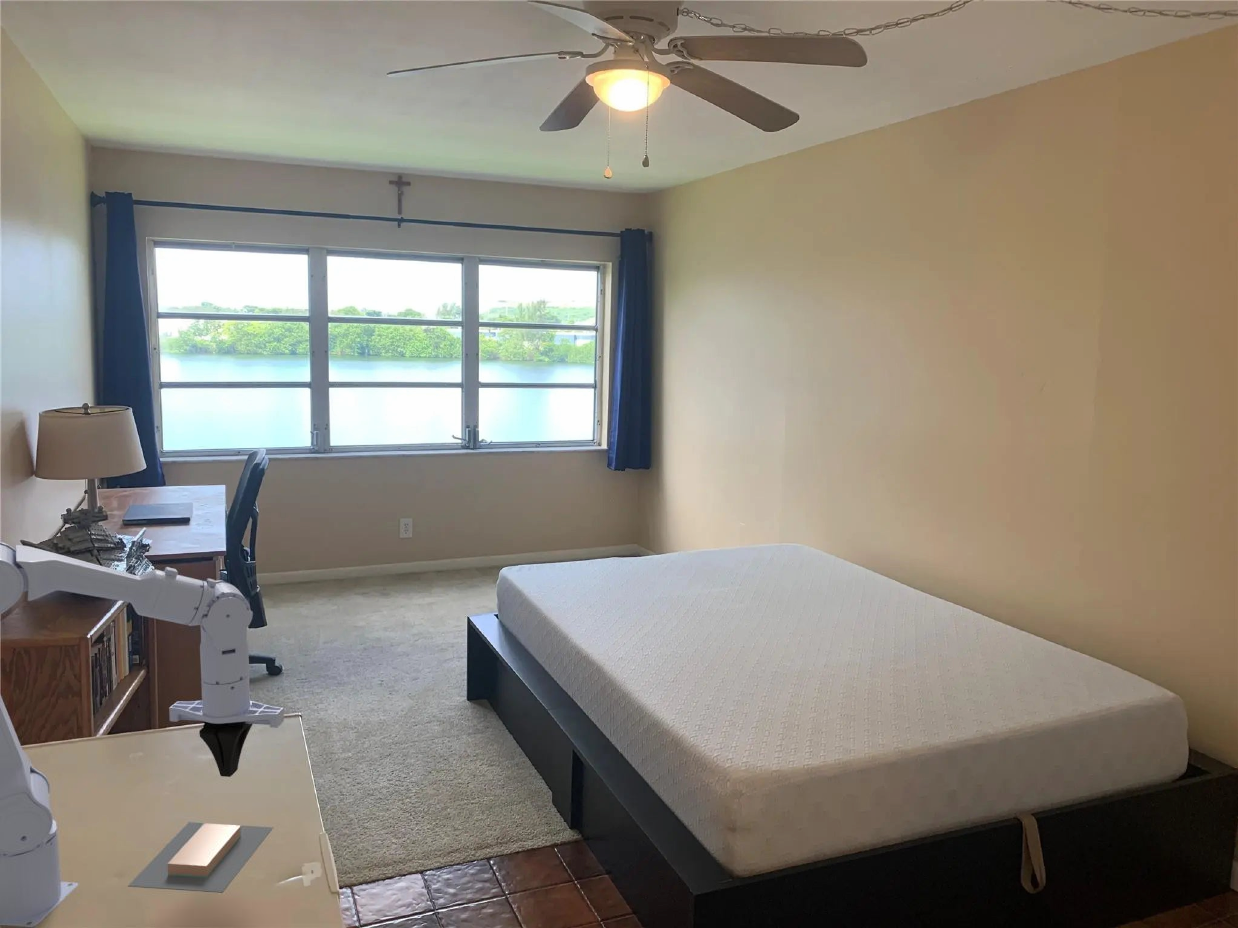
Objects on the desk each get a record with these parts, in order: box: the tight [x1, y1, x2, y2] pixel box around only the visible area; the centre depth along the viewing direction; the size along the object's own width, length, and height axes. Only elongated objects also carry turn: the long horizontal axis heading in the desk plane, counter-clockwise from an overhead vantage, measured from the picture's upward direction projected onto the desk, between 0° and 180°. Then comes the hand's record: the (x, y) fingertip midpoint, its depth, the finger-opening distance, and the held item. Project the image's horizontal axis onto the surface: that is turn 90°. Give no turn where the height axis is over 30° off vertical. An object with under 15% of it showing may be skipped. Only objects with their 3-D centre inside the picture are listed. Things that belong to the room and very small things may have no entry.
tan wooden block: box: [168, 822, 241, 878], centre depth 113 cm, size 2×9×5 cm
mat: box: [127, 821, 274, 893], centre depth 113 cm, size 12×14×1 cm
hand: (229, 772), depth 115 cm, fingers closed
